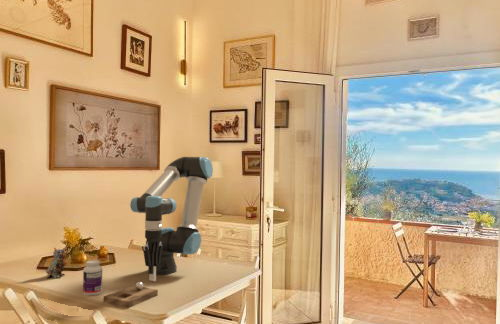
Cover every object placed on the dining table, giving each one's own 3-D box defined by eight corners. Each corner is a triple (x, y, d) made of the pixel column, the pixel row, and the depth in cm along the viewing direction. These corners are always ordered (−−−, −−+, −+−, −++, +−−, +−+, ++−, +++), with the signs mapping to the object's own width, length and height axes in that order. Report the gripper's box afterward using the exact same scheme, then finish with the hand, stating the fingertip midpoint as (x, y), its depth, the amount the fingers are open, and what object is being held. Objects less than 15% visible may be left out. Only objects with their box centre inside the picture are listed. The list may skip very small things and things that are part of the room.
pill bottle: (86, 290, 190) (86, 259, 190) (104, 290, 191) (104, 259, 191) (80, 296, 182) (80, 263, 182) (99, 296, 183) (99, 263, 183)
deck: (103, 302, 175) (103, 296, 175) (133, 290, 191) (133, 285, 191) (128, 308, 169) (128, 301, 169) (157, 295, 185) (157, 289, 185)
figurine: (57, 273, 218) (57, 244, 218) (69, 275, 214) (69, 246, 214) (42, 277, 210) (43, 247, 210) (55, 279, 206) (55, 249, 206)
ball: (133, 290, 184) (133, 282, 184) (139, 288, 187) (139, 280, 187) (139, 291, 182) (139, 283, 182) (145, 289, 185) (145, 281, 185)
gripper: (150, 232, 185) (149, 285, 185) (168, 228, 196) (167, 278, 196) (137, 230, 188) (136, 282, 188) (156, 226, 200) (155, 276, 200)
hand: (152, 280), depth 192 cm, fingers closed
